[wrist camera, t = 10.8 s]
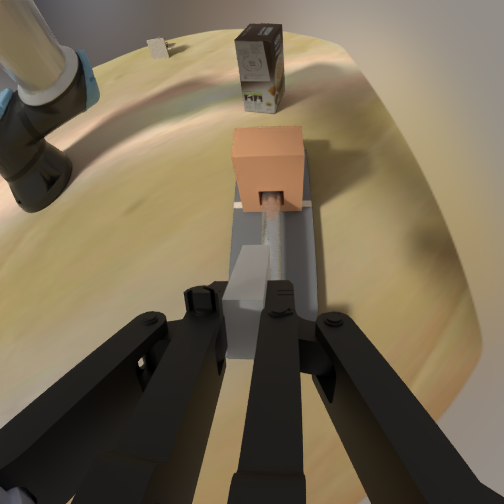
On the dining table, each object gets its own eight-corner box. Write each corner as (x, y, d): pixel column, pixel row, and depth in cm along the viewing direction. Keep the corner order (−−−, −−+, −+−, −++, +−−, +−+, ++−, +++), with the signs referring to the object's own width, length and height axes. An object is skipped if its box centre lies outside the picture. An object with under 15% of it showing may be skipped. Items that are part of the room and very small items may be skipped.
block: (301, 211, 42) (304, 155, 32) (243, 212, 43) (231, 157, 33) (299, 182, 44) (301, 126, 35) (245, 184, 45) (234, 128, 35)
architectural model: (158, 55, 75) (151, 35, 69) (178, 53, 74) (172, 32, 67) (152, 60, 74) (145, 40, 67) (173, 58, 72) (166, 37, 66)
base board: (317, 358, 35) (318, 356, 34) (226, 357, 36) (223, 356, 35) (305, 155, 49) (306, 148, 48) (239, 157, 50) (238, 150, 49)
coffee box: (276, 114, 55) (271, 41, 41) (244, 111, 56) (233, 40, 42) (285, 89, 59) (282, 23, 44) (256, 87, 60) (248, 22, 46)
